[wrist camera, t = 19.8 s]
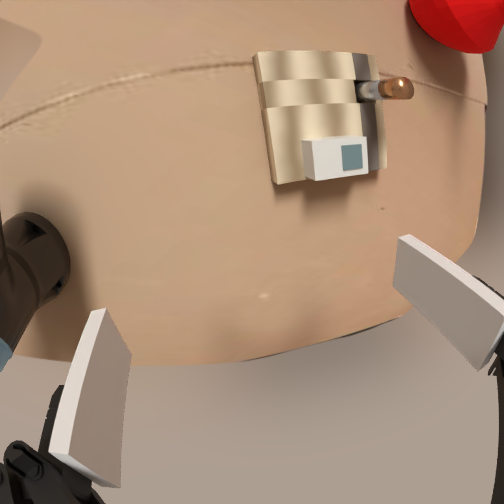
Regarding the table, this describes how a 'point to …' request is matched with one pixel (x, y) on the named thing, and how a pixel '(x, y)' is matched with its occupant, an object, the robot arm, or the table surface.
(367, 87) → the silver and copper cylinder
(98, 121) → the table surface
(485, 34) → the vase
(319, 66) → the panel
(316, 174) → the block
